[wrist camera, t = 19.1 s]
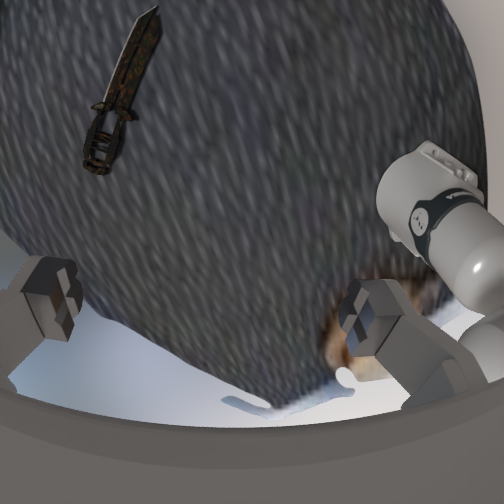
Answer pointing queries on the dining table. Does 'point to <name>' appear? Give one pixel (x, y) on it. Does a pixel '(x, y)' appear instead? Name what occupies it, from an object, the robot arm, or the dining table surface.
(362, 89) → the dining table surface
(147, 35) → the knife
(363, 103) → the dining table surface
